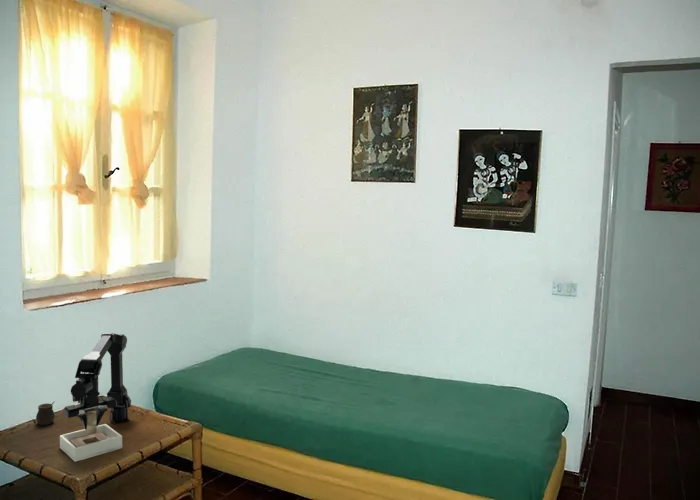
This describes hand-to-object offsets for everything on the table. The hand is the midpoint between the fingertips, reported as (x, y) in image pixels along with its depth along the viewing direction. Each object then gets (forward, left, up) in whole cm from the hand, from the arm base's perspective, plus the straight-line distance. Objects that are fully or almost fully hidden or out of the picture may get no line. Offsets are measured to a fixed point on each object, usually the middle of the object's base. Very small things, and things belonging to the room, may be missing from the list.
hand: (90, 427), depth 229 cm
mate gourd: (+5, -37, -9) cm, 38 cm away
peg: (0, 0, -2) cm, 2 cm away
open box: (0, 0, -8) cm, 8 cm away
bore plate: (0, 0, -7) cm, 7 cm away
